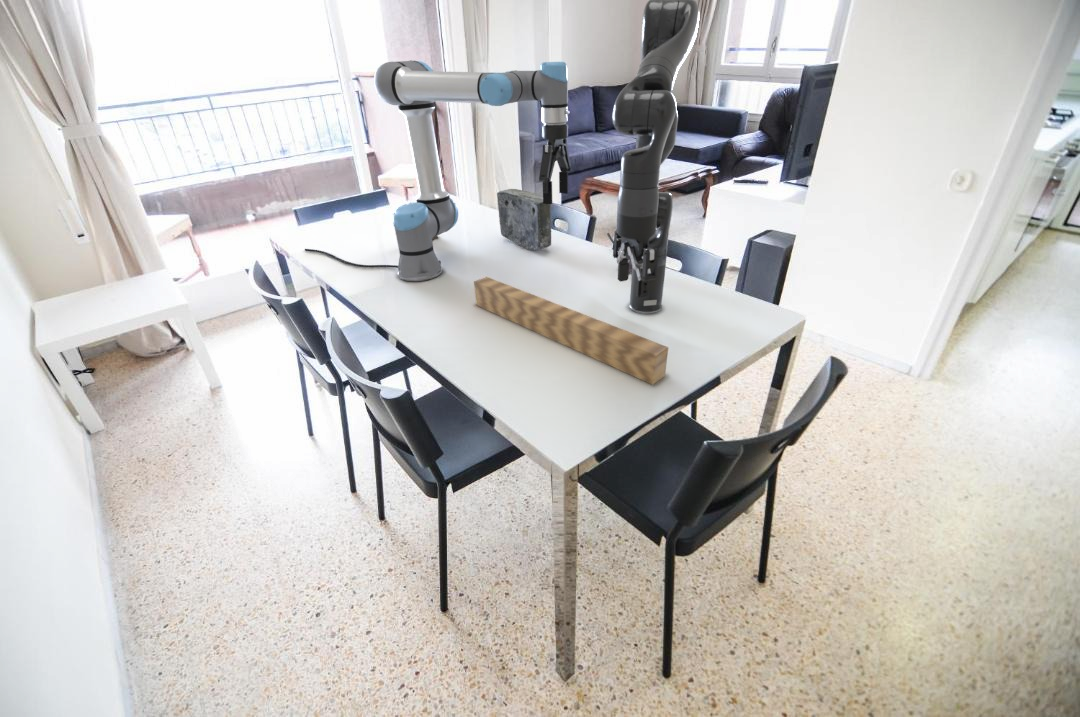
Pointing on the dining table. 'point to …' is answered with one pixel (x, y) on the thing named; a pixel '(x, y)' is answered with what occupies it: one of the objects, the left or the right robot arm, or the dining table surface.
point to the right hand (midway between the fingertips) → (631, 288)
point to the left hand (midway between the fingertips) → (556, 198)
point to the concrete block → (524, 218)
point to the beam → (575, 330)
